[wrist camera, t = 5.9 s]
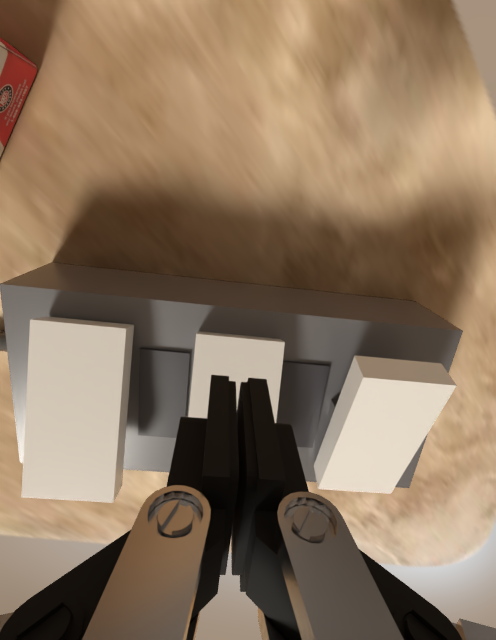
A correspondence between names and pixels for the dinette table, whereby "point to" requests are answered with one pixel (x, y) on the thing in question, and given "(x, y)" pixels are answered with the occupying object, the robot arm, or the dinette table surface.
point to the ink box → (12, 87)
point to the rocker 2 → (380, 423)
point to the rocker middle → (234, 366)
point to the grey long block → (227, 318)
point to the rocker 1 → (76, 409)
